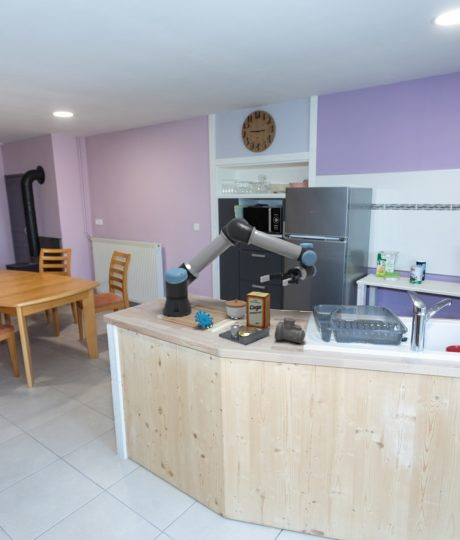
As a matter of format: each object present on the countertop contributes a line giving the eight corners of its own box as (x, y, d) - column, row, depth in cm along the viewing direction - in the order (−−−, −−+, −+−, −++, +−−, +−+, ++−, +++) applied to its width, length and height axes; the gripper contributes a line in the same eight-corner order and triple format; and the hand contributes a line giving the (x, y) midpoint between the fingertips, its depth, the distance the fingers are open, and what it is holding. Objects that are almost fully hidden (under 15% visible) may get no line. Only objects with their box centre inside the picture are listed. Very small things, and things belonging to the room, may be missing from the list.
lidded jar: (221, 317, 200) (221, 299, 199) (237, 313, 207) (236, 296, 206) (235, 321, 192) (235, 303, 191) (250, 317, 199) (250, 299, 198)
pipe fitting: (272, 341, 165) (275, 318, 163) (278, 336, 172) (282, 314, 170) (299, 348, 160) (303, 325, 158) (304, 343, 167) (308, 321, 165)
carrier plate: (218, 336, 172) (218, 323, 171) (242, 327, 184) (242, 315, 183) (246, 345, 162) (246, 331, 161) (269, 335, 173) (269, 322, 172)
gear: (200, 328, 178) (192, 310, 183) (194, 334, 182) (187, 316, 187) (218, 326, 186) (211, 308, 190) (212, 332, 189) (205, 315, 194)
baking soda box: (269, 325, 187) (270, 292, 184) (264, 329, 181) (265, 296, 178) (252, 322, 191) (252, 290, 188) (246, 326, 186) (246, 293, 183)
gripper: (316, 284, 197) (293, 292, 182) (276, 278, 214) (252, 285, 199) (317, 270, 196) (293, 276, 181) (276, 265, 213) (252, 271, 197)
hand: (271, 281), depth 190 cm, fingers open, 13 cm apart
